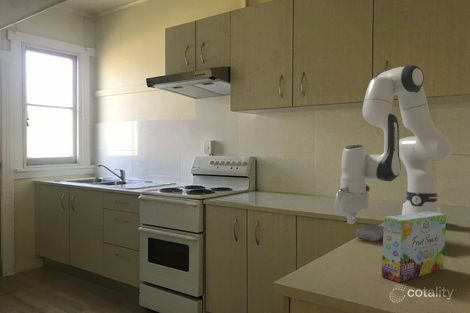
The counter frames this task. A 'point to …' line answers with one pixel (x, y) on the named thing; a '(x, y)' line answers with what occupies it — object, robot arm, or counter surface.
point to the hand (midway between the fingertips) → (351, 223)
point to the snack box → (413, 245)
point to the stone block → (371, 232)
